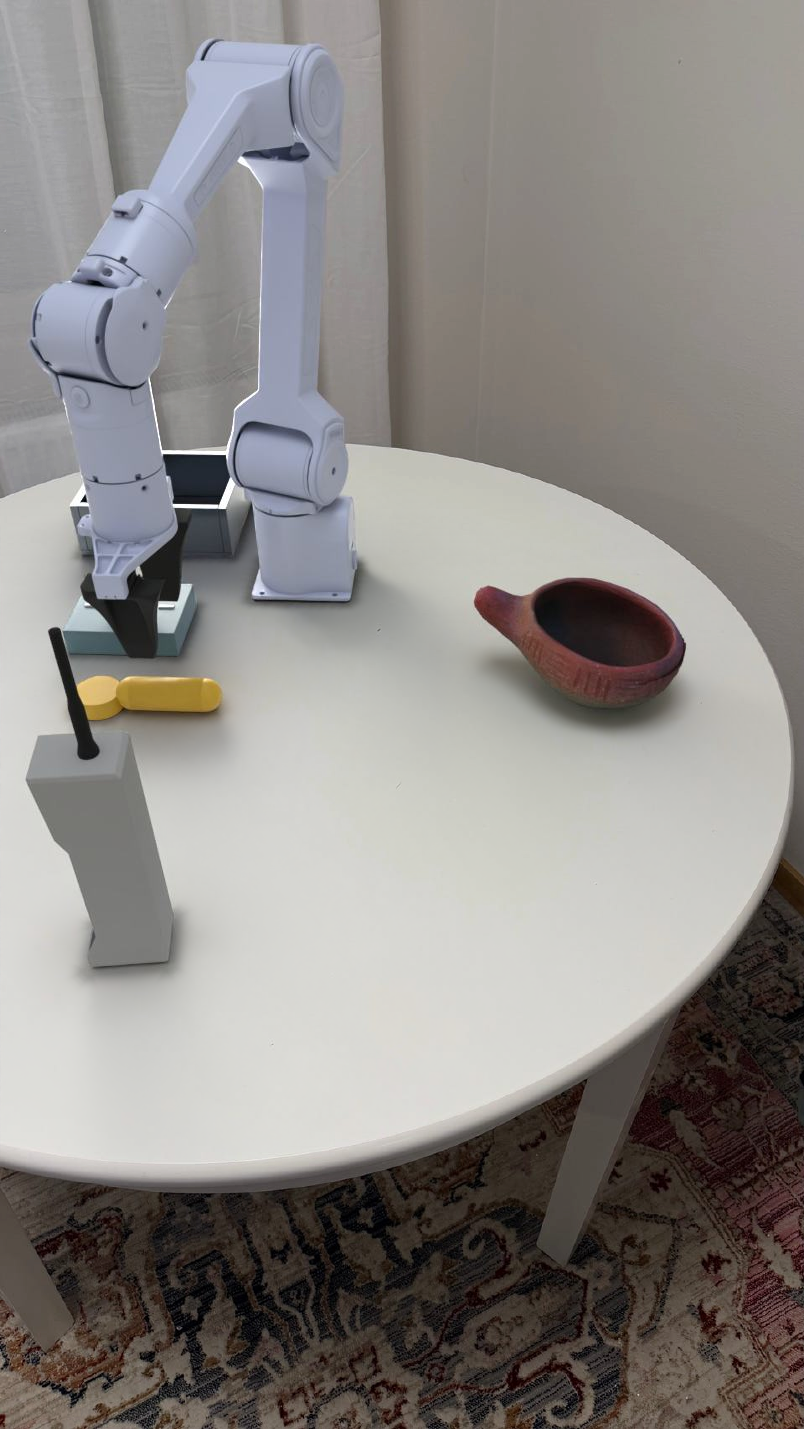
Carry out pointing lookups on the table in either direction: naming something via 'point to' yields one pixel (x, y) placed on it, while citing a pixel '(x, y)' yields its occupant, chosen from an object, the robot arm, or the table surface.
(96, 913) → the vintage mobile phone
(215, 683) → the yellow disc and capsule
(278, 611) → the table surface
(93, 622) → the dial base
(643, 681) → the bowl
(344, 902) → the table surface
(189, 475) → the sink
